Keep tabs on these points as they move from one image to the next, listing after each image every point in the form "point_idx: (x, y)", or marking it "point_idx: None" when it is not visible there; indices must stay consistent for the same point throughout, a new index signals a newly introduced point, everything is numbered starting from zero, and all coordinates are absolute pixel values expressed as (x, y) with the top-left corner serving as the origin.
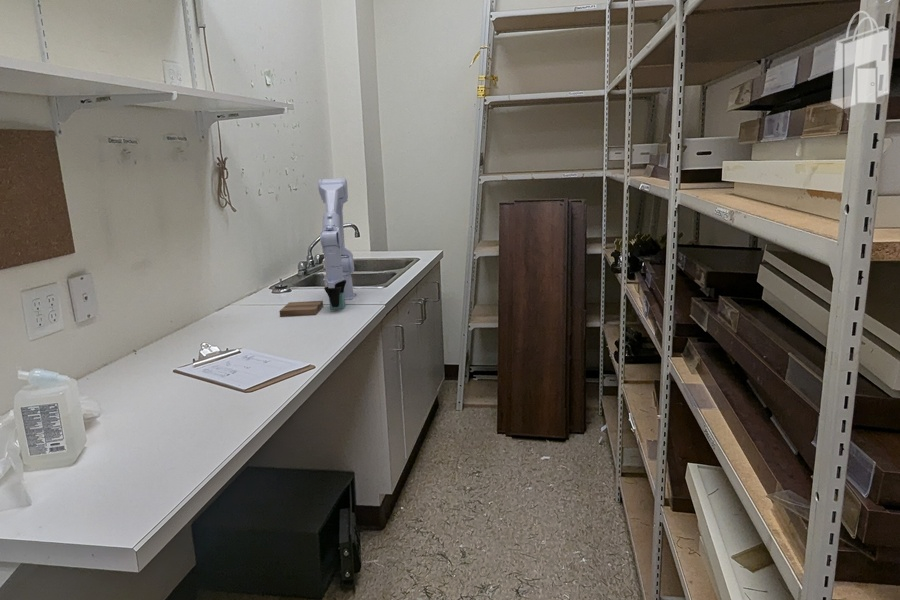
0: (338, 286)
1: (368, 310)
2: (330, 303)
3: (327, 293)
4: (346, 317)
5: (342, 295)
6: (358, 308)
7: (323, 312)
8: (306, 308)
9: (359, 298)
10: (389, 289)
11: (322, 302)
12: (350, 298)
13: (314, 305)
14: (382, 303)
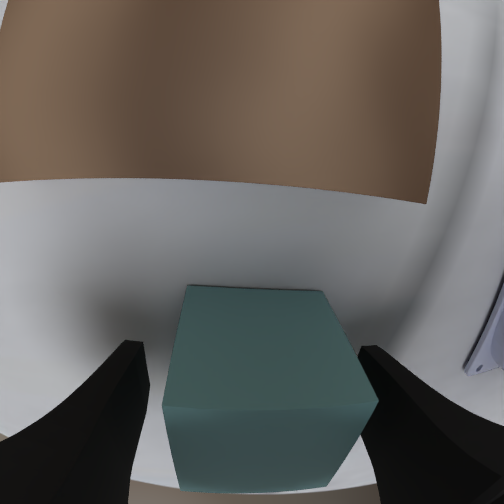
0: (413, 500)
1: (156, 469)
2: (179, 337)
3: (3, 443)
4: (14, 385)
5: (209, 487)
6: None
7: (126, 222)
8: (34, 56)
9: (461, 394)
10: None
11: (396, 196)
12: (468, 369)
13: (164, 114)
14: (288, 492)
